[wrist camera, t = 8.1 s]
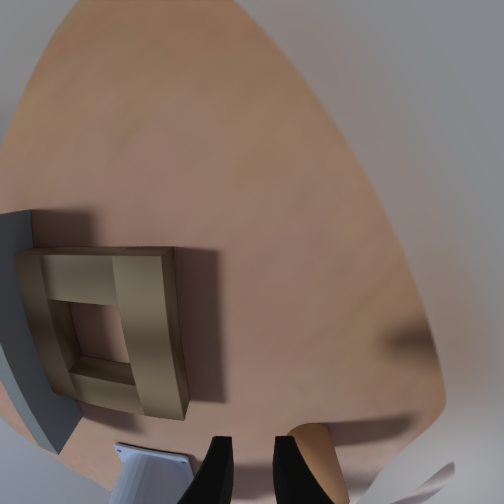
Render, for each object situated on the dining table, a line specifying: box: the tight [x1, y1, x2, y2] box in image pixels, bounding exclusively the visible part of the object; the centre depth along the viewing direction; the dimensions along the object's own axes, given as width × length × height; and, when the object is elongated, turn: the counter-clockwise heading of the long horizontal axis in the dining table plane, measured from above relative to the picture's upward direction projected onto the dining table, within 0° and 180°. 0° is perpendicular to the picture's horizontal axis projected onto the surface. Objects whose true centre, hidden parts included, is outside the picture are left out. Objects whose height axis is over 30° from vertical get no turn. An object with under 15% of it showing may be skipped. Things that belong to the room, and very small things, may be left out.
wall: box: [0, 210, 83, 455], centre depth 15 cm, size 20×2×6 cm, turn 0°
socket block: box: [13, 247, 190, 421], centre depth 17 cm, size 12×12×2 cm
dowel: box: [286, 423, 350, 504], centre depth 16 cm, size 4×4×8 cm
